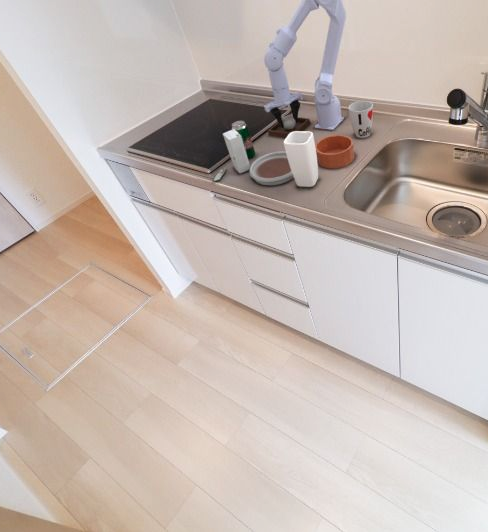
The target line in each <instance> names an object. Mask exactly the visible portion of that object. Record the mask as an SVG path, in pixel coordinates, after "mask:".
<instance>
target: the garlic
mask: <svg viewBox="0 0 488 532" xmlns="http://www.w3.org/2000/svg"><path fill="white" fill-rule="evenodd" d="M281 118H282V122H283V126H284V128H285V129H289V130H291V129H293V128H294V126H295V125H296V121H295V119H294V117H293V116H292V114H287V115H285V116H283V117H281Z"/></svg>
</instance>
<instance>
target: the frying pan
mask: <svg viewBox="0 0 488 532" xmlns="http://www.w3.org/2000/svg"><path fill="white" fill-rule="evenodd" d="M249 175H250V177H251V178H252V179H253V180H254V181H255V182H256V183H257V184H260V185H263V186H277V185H281V184H285V183H287V182H289V181H291V180H293V179H294V176H293V174H292V171H291V168H290V165H289V162H288V158H287V154H286V151H283V150H282V151H274V152H269V153H266V154H264V155H262V156H260V157H258V158H256V159H255V160H254V161H253V162H252V163H251V165H250V170H249Z"/></svg>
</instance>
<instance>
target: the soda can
mask: <svg viewBox="0 0 488 532" xmlns="http://www.w3.org/2000/svg"><path fill="white" fill-rule="evenodd" d="M233 129H234V130H235V131H237V132H238V133H239V134H240V135H241V137H242V141H243V144H244V147H245V151H246V154H247V158H248V160H252V159H253V158H254V157H255V156H256V154H257V153H256V149H255V147H254V144H253V141H252V138H251V134H250V131H249V128H248V124H246V122H245V121H244V120H236V121H234V122H233V123H231V130H233Z"/></svg>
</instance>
